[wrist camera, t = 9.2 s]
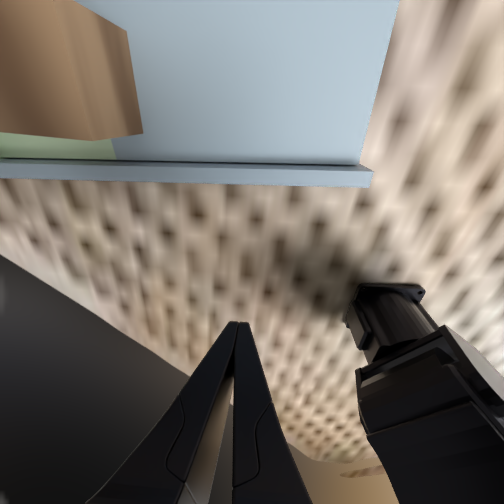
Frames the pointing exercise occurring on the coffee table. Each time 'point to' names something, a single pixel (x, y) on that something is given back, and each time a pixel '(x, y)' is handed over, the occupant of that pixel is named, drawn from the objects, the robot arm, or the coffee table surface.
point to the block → (65, 73)
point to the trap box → (233, 95)
